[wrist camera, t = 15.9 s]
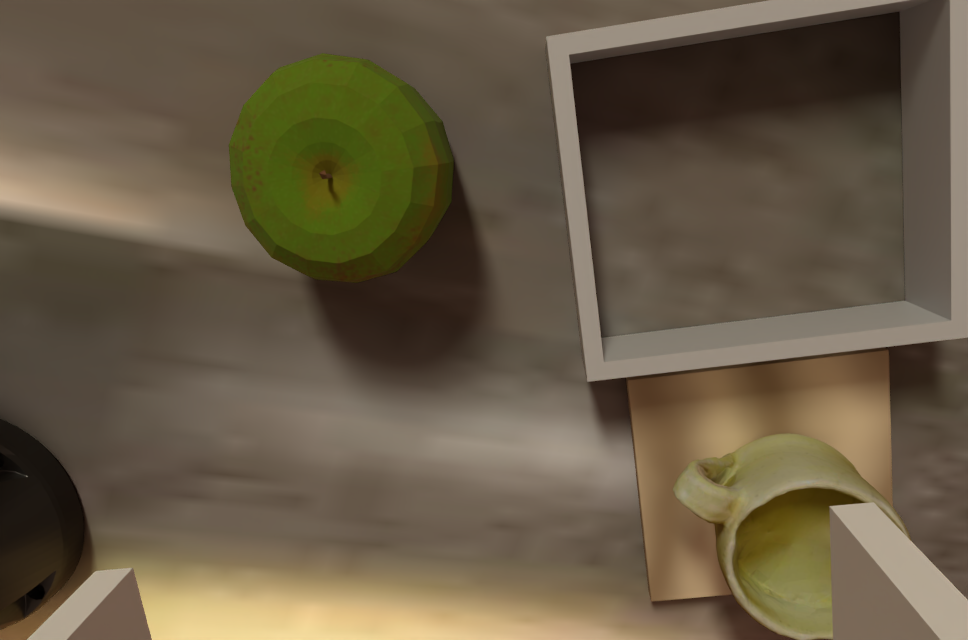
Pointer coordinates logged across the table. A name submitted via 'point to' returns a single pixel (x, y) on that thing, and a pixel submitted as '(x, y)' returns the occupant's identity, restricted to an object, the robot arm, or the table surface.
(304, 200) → the apple
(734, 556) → the mug
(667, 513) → the board
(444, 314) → the table surface
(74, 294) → the table surface
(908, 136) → the tub
